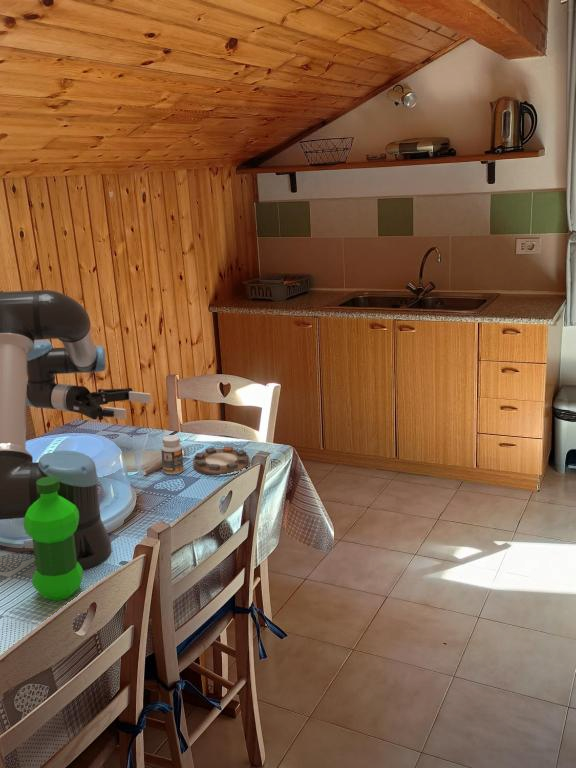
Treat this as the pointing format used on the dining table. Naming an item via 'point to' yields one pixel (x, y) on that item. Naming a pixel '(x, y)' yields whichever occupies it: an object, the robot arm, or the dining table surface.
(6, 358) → the robot arm
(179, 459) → the pill bottle
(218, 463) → the sprocket plate
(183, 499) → the dining table surface
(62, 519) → the plastic bottle
